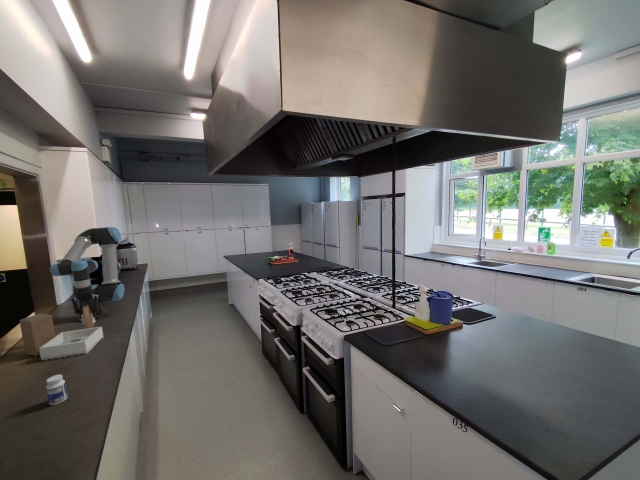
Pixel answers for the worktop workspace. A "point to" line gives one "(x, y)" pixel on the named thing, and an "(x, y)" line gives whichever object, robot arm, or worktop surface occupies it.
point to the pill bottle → (56, 390)
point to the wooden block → (36, 332)
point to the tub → (71, 343)
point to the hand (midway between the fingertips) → (89, 323)
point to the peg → (87, 317)
